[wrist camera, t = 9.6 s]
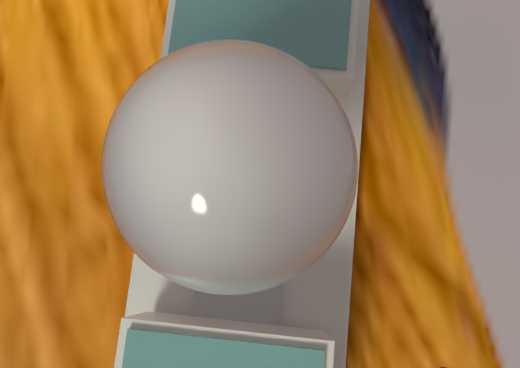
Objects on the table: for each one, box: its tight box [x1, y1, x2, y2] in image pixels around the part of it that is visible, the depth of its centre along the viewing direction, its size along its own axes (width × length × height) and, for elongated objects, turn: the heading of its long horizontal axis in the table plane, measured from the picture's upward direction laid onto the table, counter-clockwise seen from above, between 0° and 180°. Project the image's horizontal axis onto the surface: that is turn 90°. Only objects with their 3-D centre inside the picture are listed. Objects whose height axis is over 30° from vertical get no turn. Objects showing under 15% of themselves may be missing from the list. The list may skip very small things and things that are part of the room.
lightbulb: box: [102, 39, 358, 295], centre depth 15 cm, size 6×6×11 cm
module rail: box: [114, 0, 370, 368], centre depth 19 cm, size 24×9×5 cm, turn 174°
